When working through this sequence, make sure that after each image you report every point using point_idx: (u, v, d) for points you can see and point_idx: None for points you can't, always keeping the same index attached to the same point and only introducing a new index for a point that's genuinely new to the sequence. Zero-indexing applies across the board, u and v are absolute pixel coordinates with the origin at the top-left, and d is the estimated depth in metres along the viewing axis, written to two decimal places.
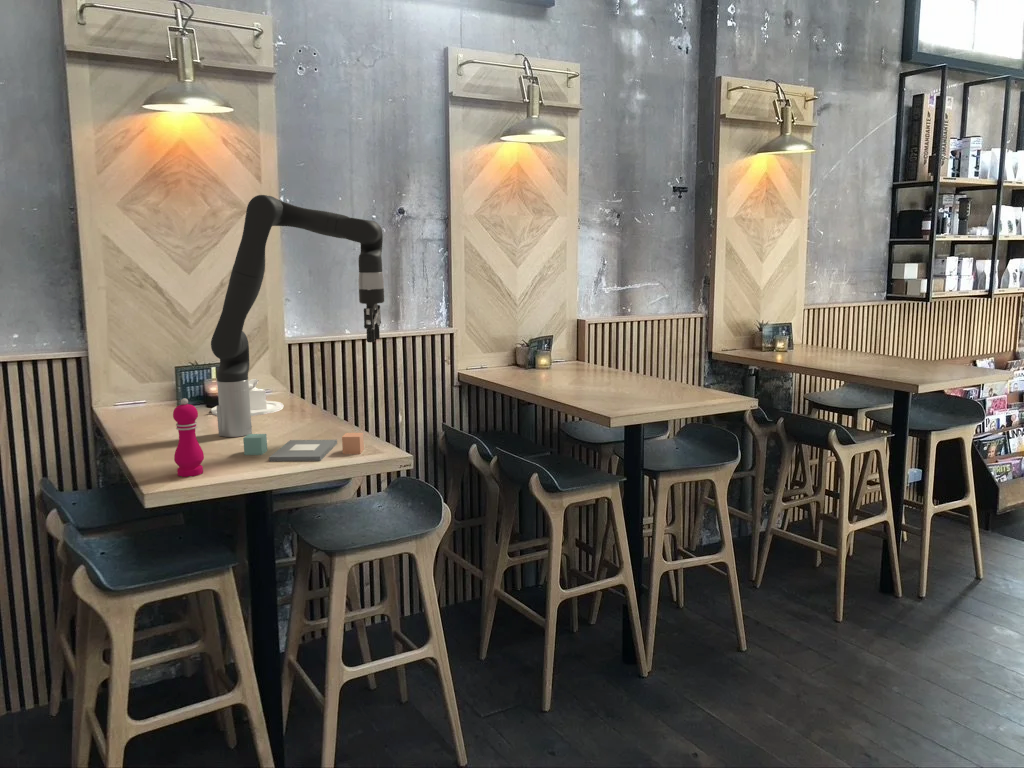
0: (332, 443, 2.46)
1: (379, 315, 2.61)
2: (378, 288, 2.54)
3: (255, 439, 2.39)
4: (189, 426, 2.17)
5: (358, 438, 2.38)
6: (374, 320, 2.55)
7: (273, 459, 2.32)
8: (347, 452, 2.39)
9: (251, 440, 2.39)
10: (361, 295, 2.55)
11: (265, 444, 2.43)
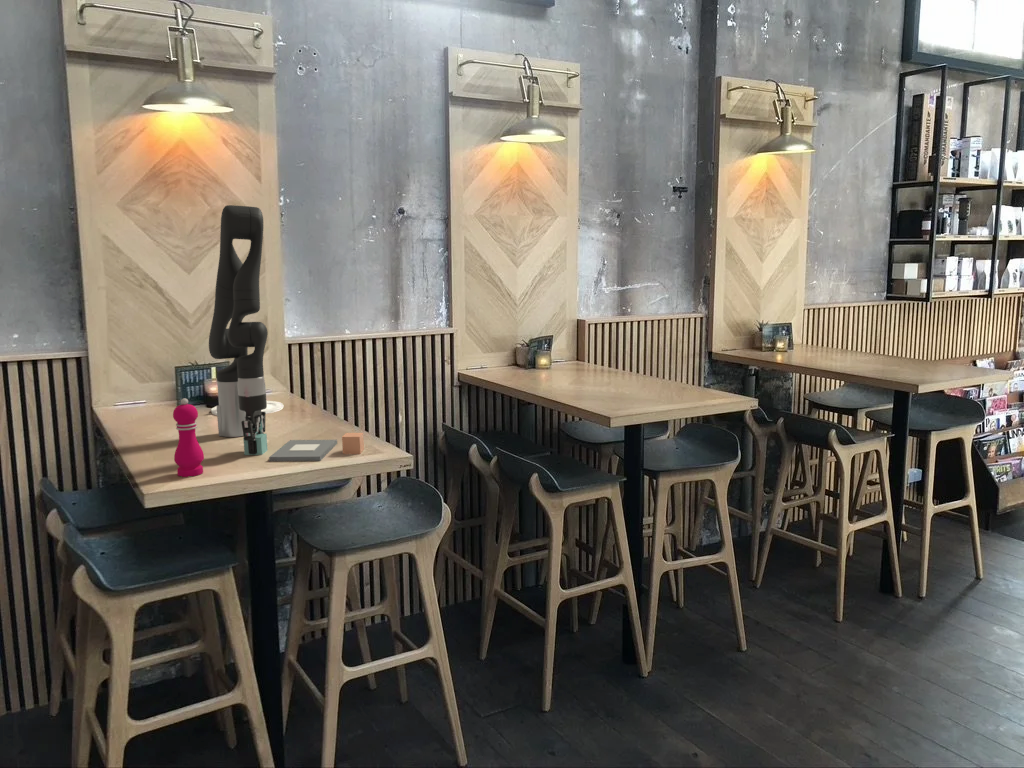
0: (332, 443, 2.46)
1: (262, 422, 2.42)
2: (258, 394, 2.36)
3: None
4: (189, 426, 2.17)
5: (358, 438, 2.38)
6: (255, 430, 2.38)
7: (273, 459, 2.32)
8: (347, 452, 2.39)
9: None
10: (240, 402, 2.37)
11: (265, 444, 2.43)
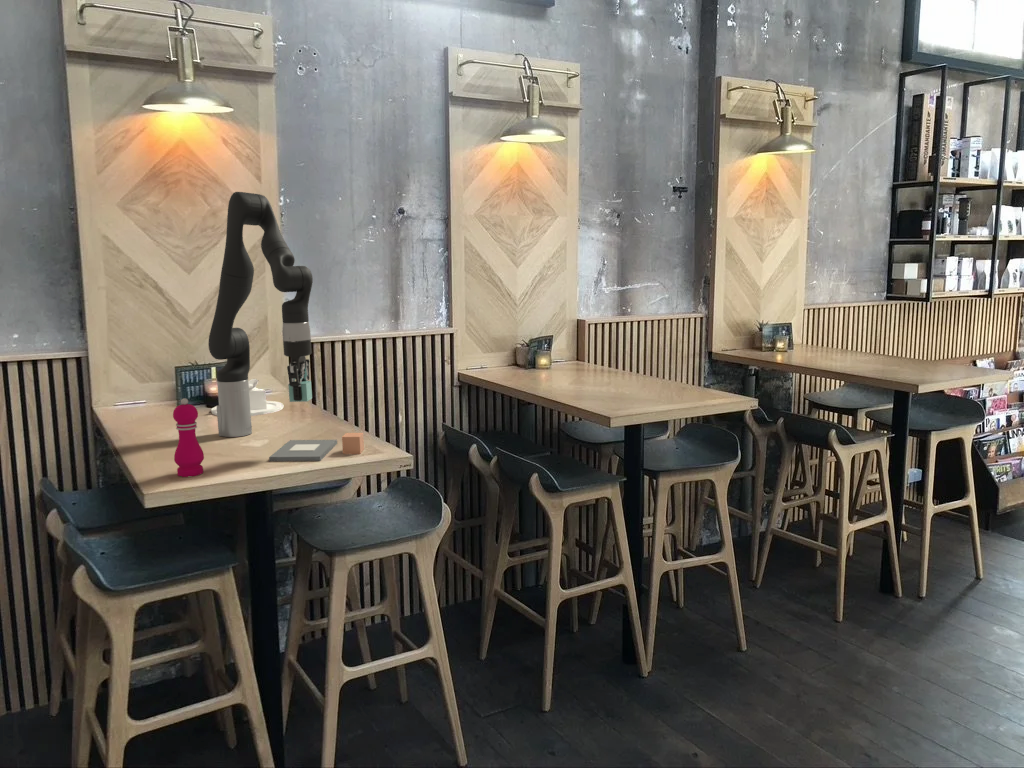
0: (332, 443, 2.46)
1: (306, 369, 2.39)
2: (303, 340, 2.33)
3: None
4: (189, 426, 2.17)
5: (358, 438, 2.38)
6: (300, 376, 2.35)
7: (273, 459, 2.32)
8: (347, 452, 2.39)
9: None
10: (285, 347, 2.34)
11: (310, 391, 2.39)
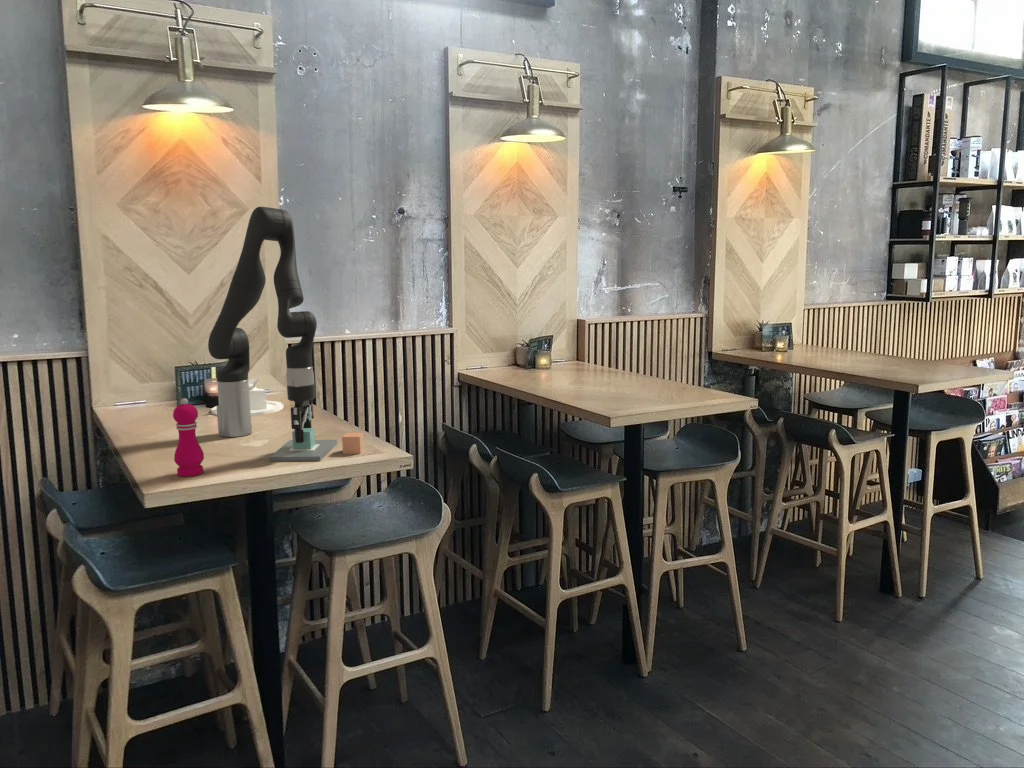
0: (332, 443, 2.46)
1: (310, 411, 2.42)
2: (307, 384, 2.36)
3: (304, 433, 2.38)
4: (189, 426, 2.17)
5: (358, 438, 2.38)
6: (303, 419, 2.36)
7: (273, 459, 2.32)
8: (347, 452, 2.39)
9: None
10: (289, 392, 2.36)
11: (313, 438, 2.42)
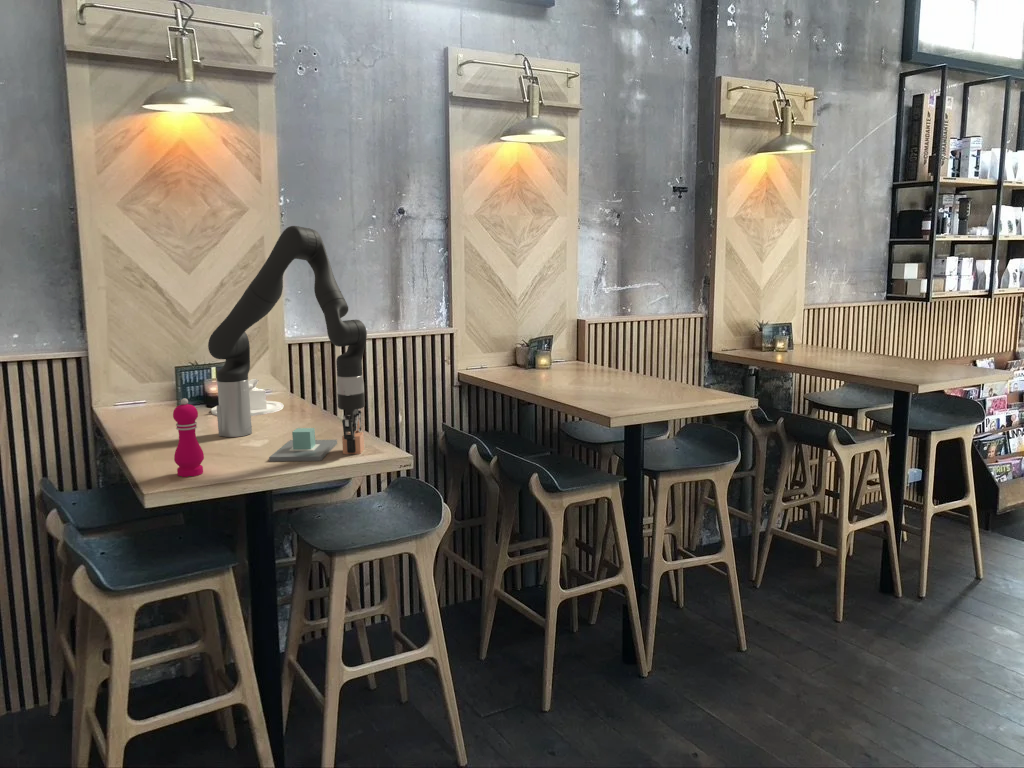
0: (332, 443, 2.46)
1: (359, 421, 2.42)
2: (358, 393, 2.36)
3: (304, 433, 2.38)
4: (189, 426, 2.17)
5: (358, 438, 2.38)
6: (354, 429, 2.37)
7: (273, 459, 2.32)
8: (347, 452, 2.39)
9: (300, 434, 2.38)
10: (339, 401, 2.36)
11: (313, 438, 2.42)
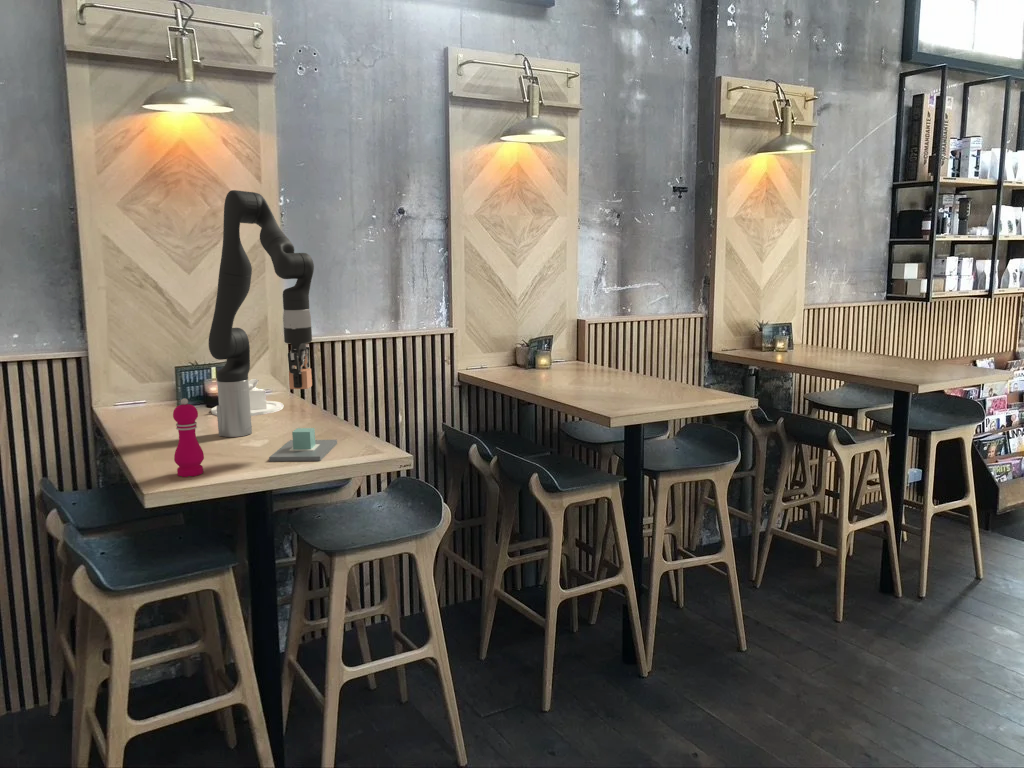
0: (332, 443, 2.46)
1: (307, 356, 2.39)
2: (304, 327, 2.33)
3: (304, 433, 2.38)
4: (189, 426, 2.17)
5: (305, 372, 2.35)
6: (301, 364, 2.34)
7: (273, 459, 2.32)
8: None
9: (300, 434, 2.38)
10: (286, 334, 2.33)
11: (313, 438, 2.42)
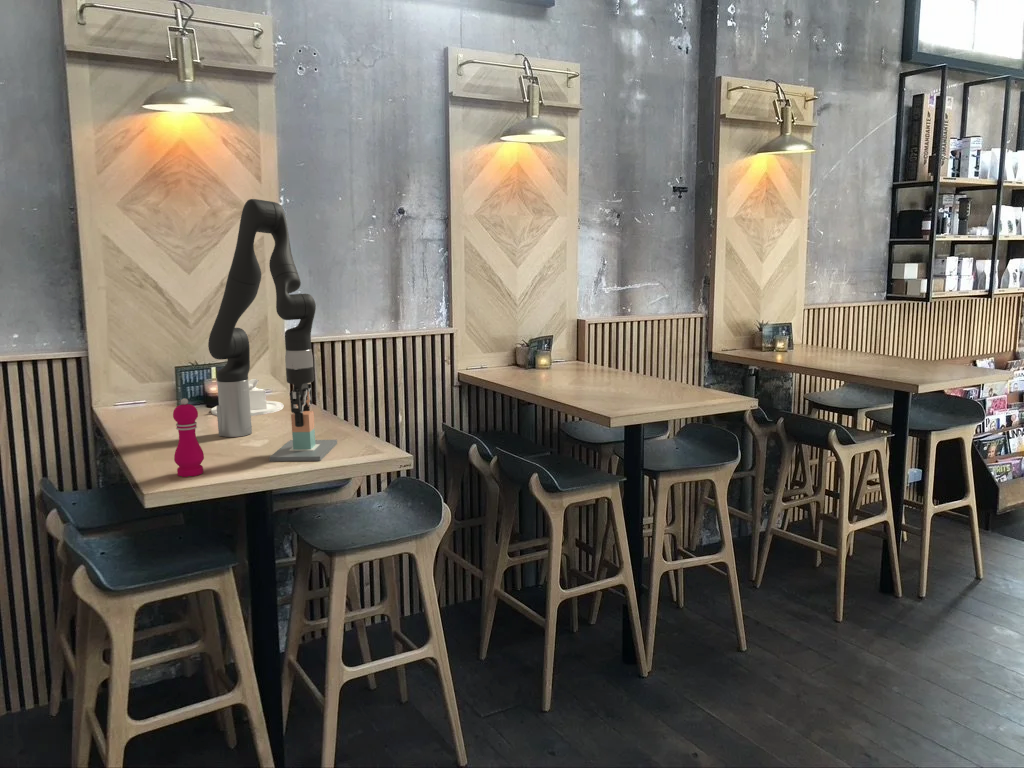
0: (332, 443, 2.46)
1: (309, 395, 2.41)
2: (306, 367, 2.35)
3: (304, 433, 2.38)
4: (189, 426, 2.17)
5: (307, 416, 2.37)
6: (302, 403, 2.36)
7: (273, 459, 2.32)
8: (296, 430, 2.38)
9: (300, 434, 2.38)
10: (288, 375, 2.35)
11: (313, 438, 2.42)
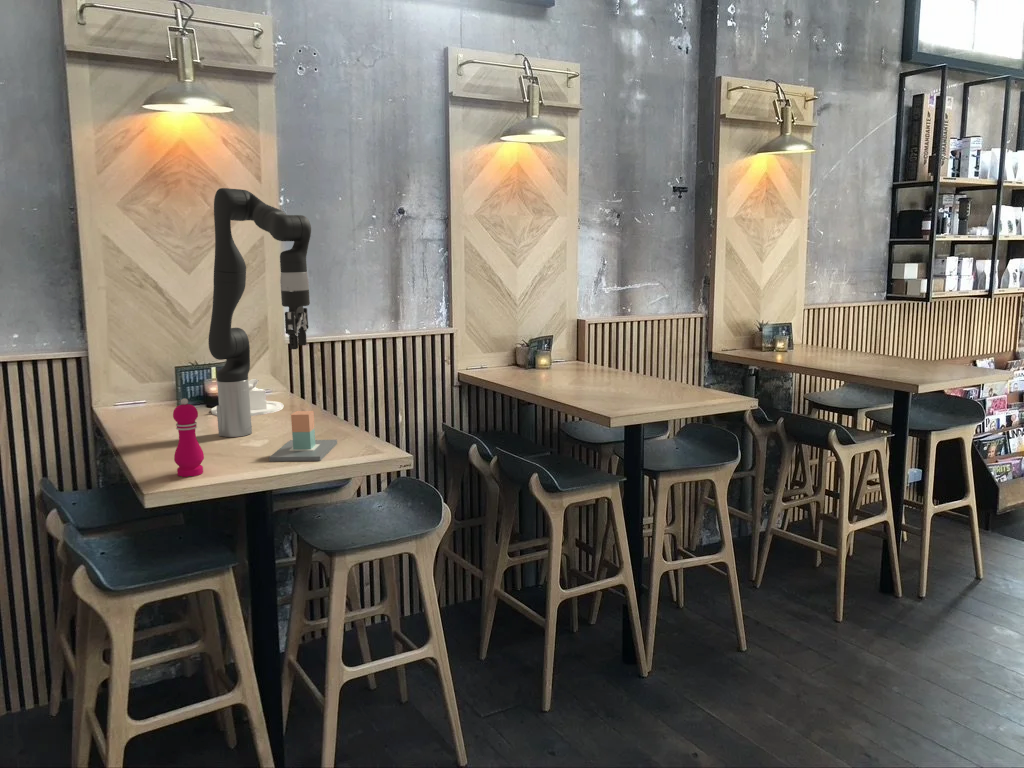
0: (332, 443, 2.46)
1: (305, 319, 2.38)
2: (301, 289, 2.31)
3: (304, 433, 2.38)
4: (189, 426, 2.17)
5: (307, 416, 2.37)
6: (297, 325, 2.32)
7: (273, 459, 2.32)
8: (296, 430, 2.38)
9: (300, 434, 2.38)
10: (283, 297, 2.32)
11: (313, 438, 2.42)
